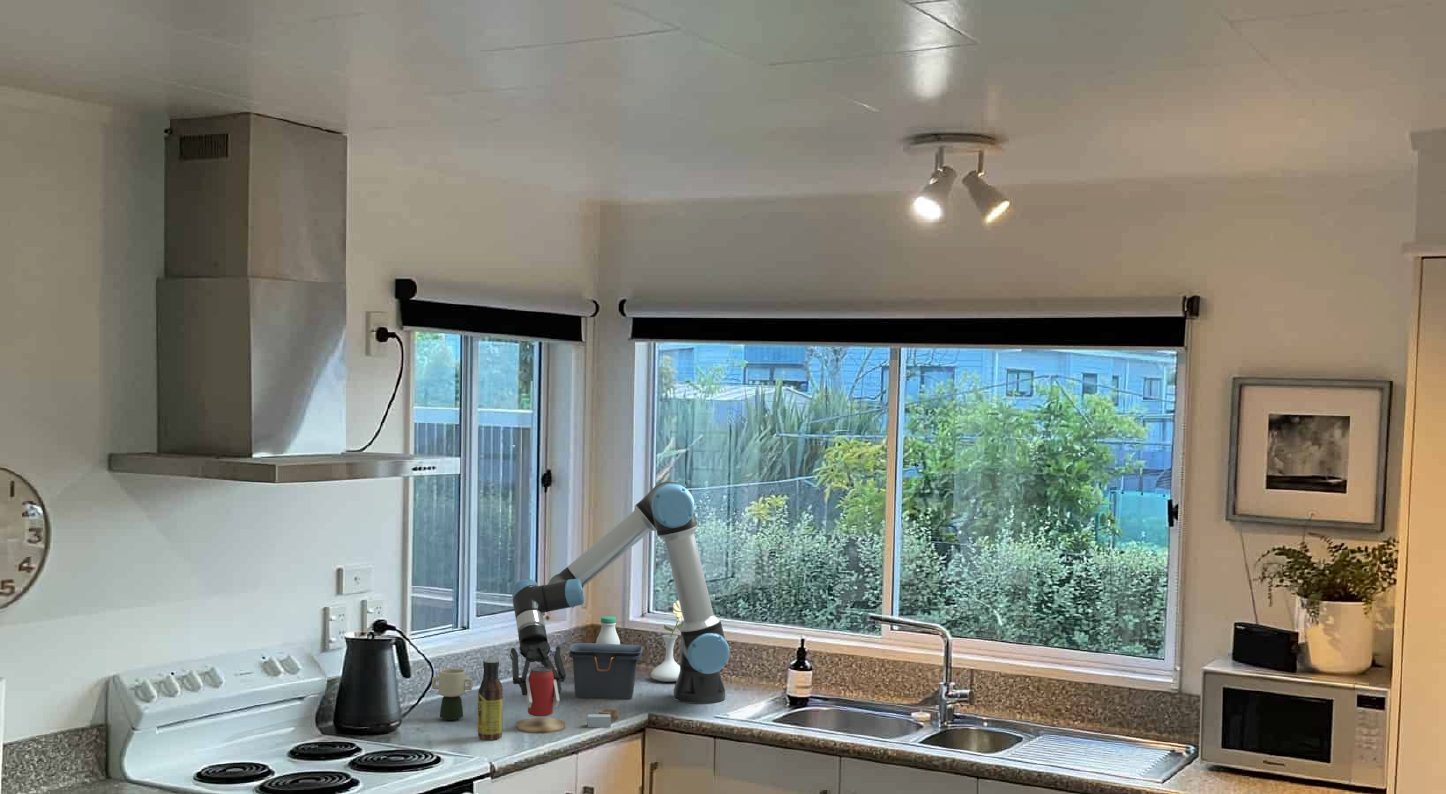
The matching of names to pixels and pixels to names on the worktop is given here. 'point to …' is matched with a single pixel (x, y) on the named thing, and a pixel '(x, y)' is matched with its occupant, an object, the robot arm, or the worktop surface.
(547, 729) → the trivet
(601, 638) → the milk bottle
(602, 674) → the storage bin
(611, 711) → the walnut block
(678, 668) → the flower in vase
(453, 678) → the character mug
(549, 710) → the beer can
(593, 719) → the grey-blue block
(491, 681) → the sauce bottle
